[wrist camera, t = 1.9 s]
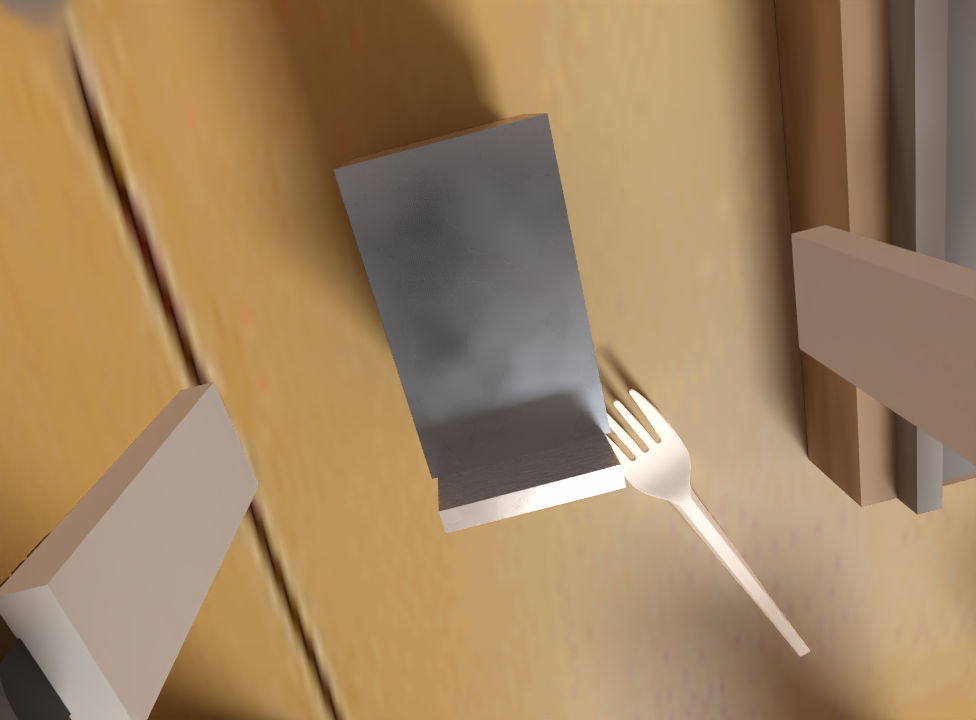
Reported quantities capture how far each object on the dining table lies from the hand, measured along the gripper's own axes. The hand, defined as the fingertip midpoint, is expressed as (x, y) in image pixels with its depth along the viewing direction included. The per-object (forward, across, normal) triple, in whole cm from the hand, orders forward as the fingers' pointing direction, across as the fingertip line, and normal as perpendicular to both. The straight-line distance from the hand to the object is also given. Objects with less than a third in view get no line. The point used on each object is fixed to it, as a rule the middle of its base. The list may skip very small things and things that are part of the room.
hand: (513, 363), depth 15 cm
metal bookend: (+12, 0, 0) cm, 12 cm away
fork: (+13, -8, +16) cm, 22 cm away
